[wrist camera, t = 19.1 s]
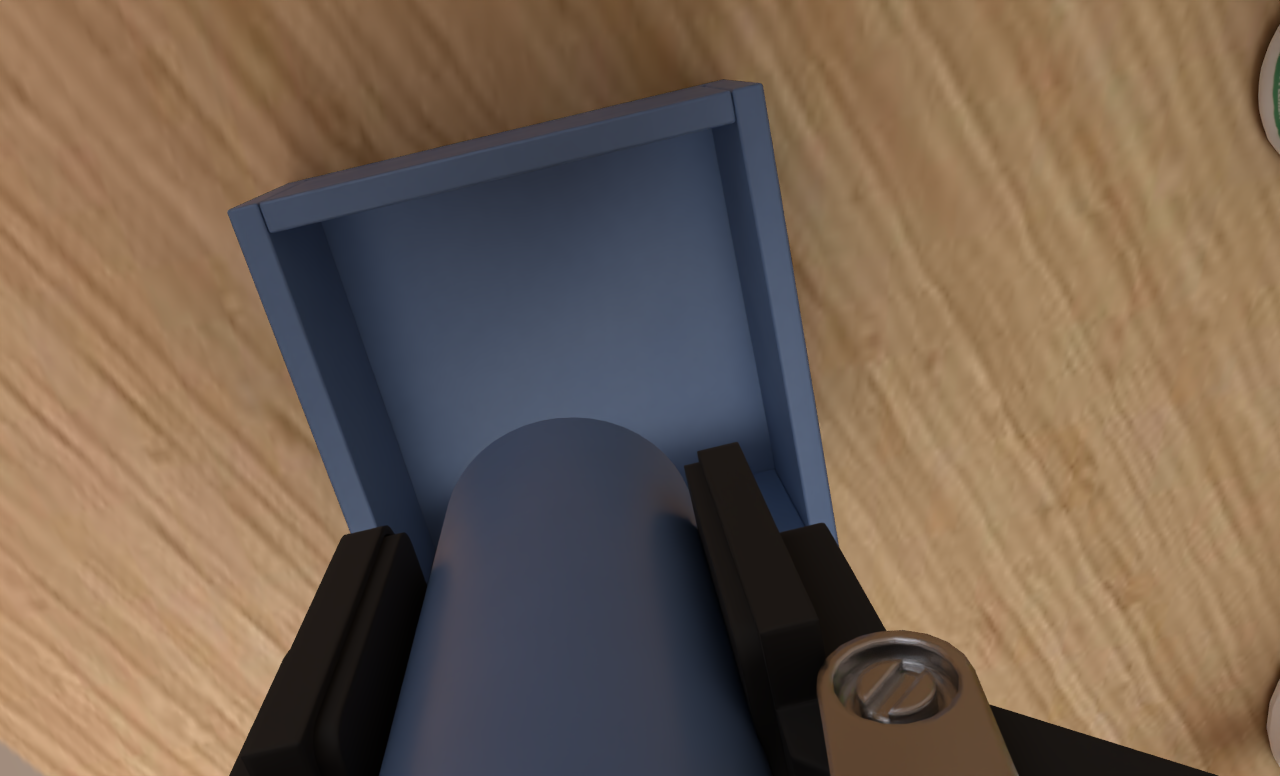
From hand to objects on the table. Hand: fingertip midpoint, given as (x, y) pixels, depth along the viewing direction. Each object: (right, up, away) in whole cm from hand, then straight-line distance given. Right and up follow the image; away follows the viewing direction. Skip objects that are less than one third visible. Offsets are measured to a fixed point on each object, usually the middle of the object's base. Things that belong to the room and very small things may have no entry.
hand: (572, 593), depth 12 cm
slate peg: (0, +1, +2) cm, 2 cm away
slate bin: (-1, +4, +11) cm, 11 cm away
